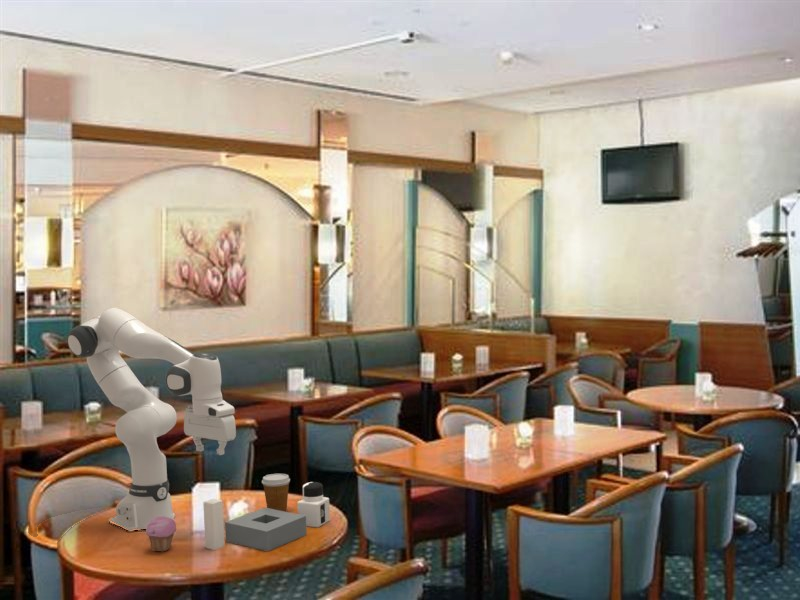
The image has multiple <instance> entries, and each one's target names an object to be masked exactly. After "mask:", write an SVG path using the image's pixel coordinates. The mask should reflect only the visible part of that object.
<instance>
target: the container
mask: <svg viewBox="0 0 800 600" xmlns="http://www.w3.org/2000/svg"><path fill="white" fill-rule="evenodd" d="M296 508H297V514H299V515H304V516H306V527H311V528H320V527H321V526H323V525H325V524H327V523H328V522H329V521H330V520H331V519H330V518H331V517H330V515H331V513H330V512H331V511H330V498H329V497H326V496H324V485H323V484H322V483H321V482H318V481H310V482H306V483H304V484H303V485H302V499H301V500H299V501H297V507H296Z"/></svg>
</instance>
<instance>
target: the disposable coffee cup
mask: <svg viewBox="0 0 800 600" xmlns="http://www.w3.org/2000/svg"><path fill="white" fill-rule="evenodd" d="M290 482H291V478H290V476H289V474H286V473H271V474H266V475H265V476H263V477H262V480H261V484H262V485H263V491H264V492H263V493H264V497H265V503H266V508H270V509H275V510H280V511H284V512H287V511H288V508H287V507H288V497H289V496H288V495H289V486H290Z"/></svg>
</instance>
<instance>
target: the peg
mask: <svg viewBox="0 0 800 600" xmlns="http://www.w3.org/2000/svg"><path fill="white" fill-rule="evenodd" d="M223 502H224V501H223V500H220V499H217V498H212V499H209V500H205V501H203V502H202V503H203V504H202V505H203V520H204V521H203V523H204V525H203V526H204V543H205V544H204V545H205V549H209V550H212V551H215V550H218V549H221V548H223V547H225V529H224V528H225V527H224V525H225V523H224V506H223Z"/></svg>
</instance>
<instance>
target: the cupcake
mask: <svg viewBox="0 0 800 600" xmlns="http://www.w3.org/2000/svg"><path fill="white" fill-rule="evenodd" d="M176 531H177V523H176V522H175V519H174V520H173V519H172V518H168V517H163V516H161V517H155V518H153V519H152V520H151V522H150V523H149V524H148V526H147V528H146V530H145V532H146V536H148V538H149V542H150V548H151V551H152V552H154V551H161V552H166V551H168V550H169V549H170V548H172V543H173V537H174V533H176Z"/></svg>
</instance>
